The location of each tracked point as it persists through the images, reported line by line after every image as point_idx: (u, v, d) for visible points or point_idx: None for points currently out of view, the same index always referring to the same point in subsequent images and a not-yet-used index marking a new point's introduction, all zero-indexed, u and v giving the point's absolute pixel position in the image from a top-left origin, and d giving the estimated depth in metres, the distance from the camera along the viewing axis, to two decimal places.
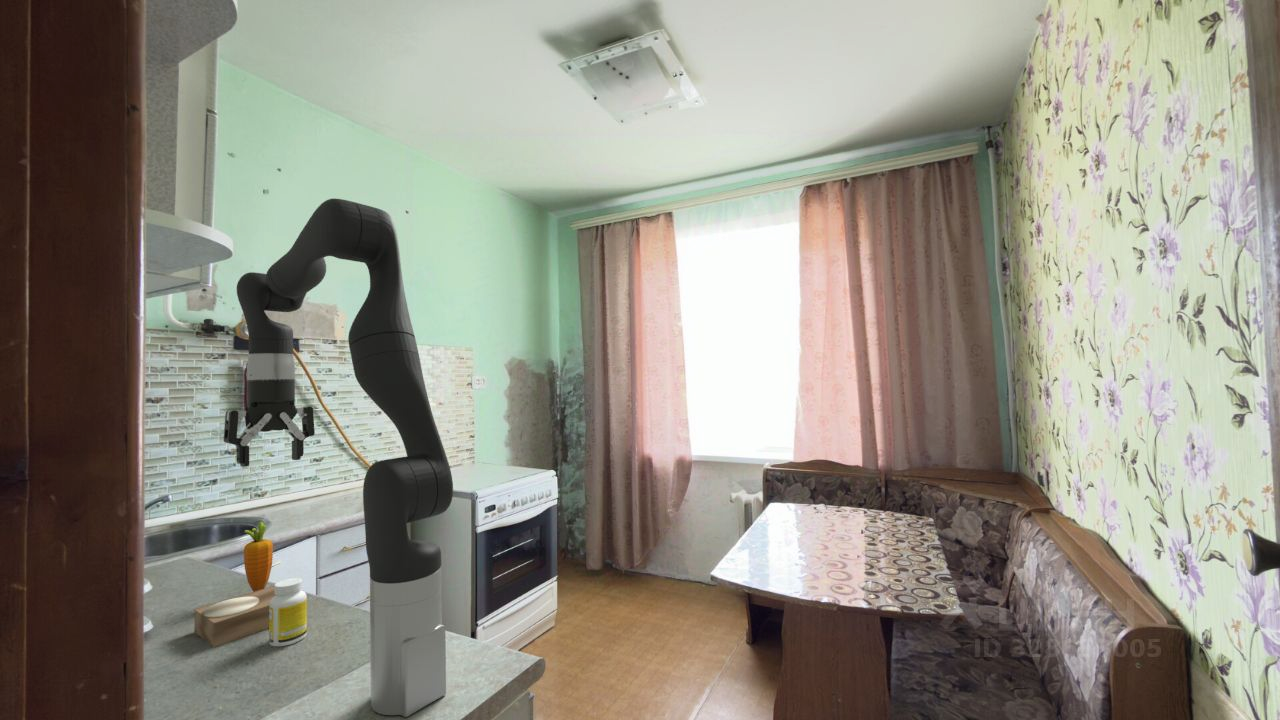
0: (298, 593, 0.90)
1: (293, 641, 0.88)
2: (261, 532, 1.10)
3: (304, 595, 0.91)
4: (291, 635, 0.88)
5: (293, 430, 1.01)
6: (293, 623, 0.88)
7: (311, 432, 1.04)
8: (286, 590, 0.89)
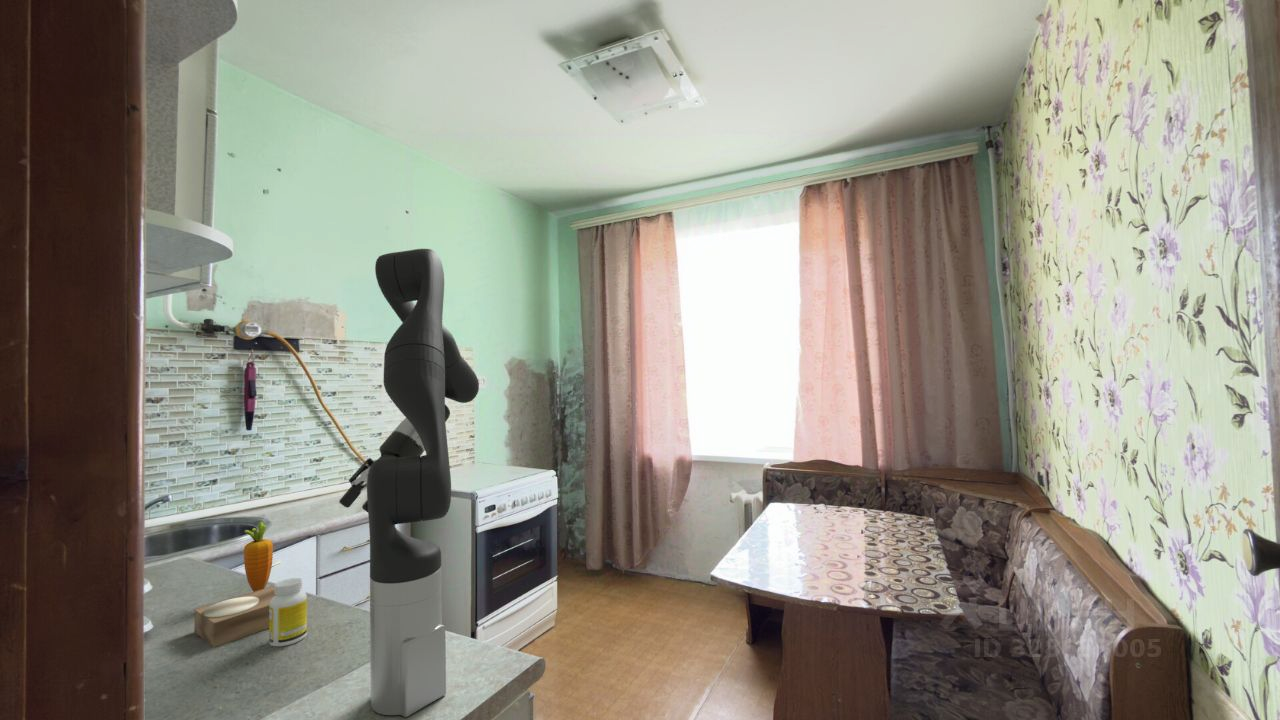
0: (298, 593, 0.90)
1: (293, 641, 0.88)
2: (261, 532, 1.10)
3: (304, 595, 0.91)
4: (291, 635, 0.88)
5: None
6: (293, 623, 0.88)
7: None
8: (286, 590, 0.89)
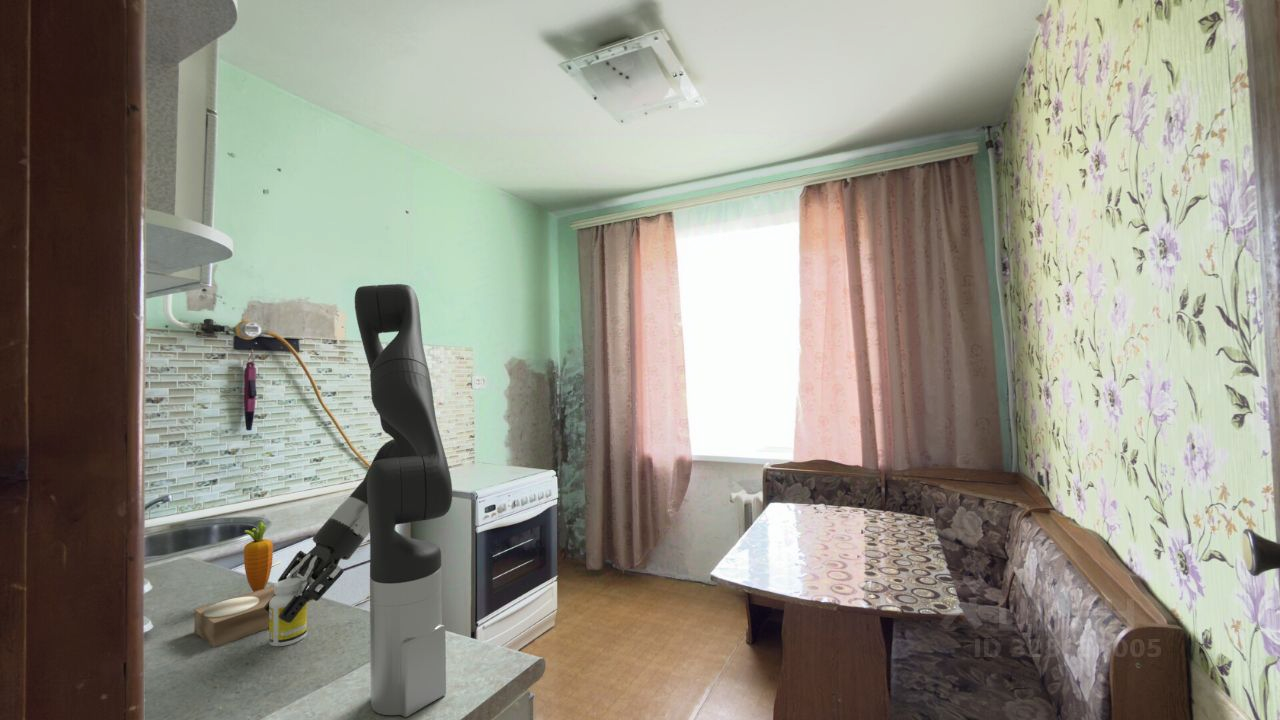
0: None
1: (293, 641, 0.88)
2: (261, 532, 1.10)
3: None
4: (291, 635, 0.88)
5: (303, 579, 0.90)
6: (293, 622, 0.88)
7: (307, 590, 0.88)
8: (286, 590, 0.89)
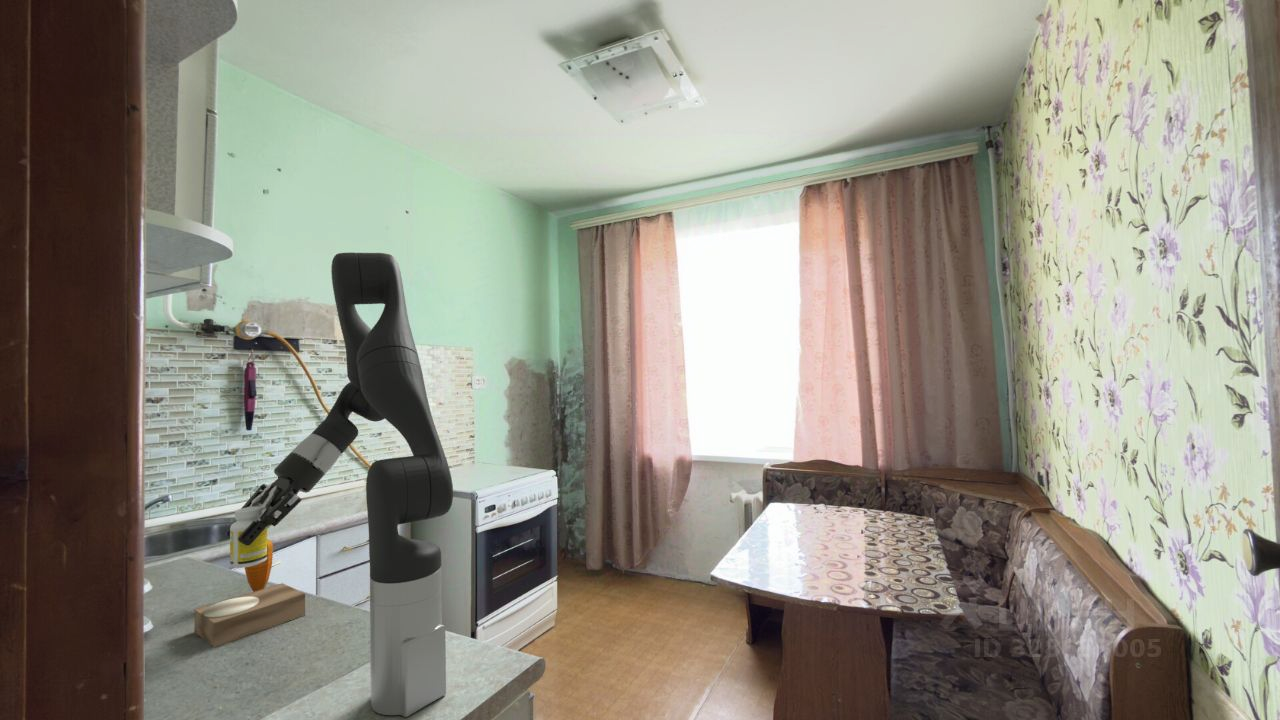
0: None
1: (252, 563, 0.93)
2: None
3: None
4: (250, 557, 0.93)
5: (262, 506, 0.95)
6: (252, 546, 0.93)
7: (264, 515, 0.92)
8: (245, 516, 0.93)
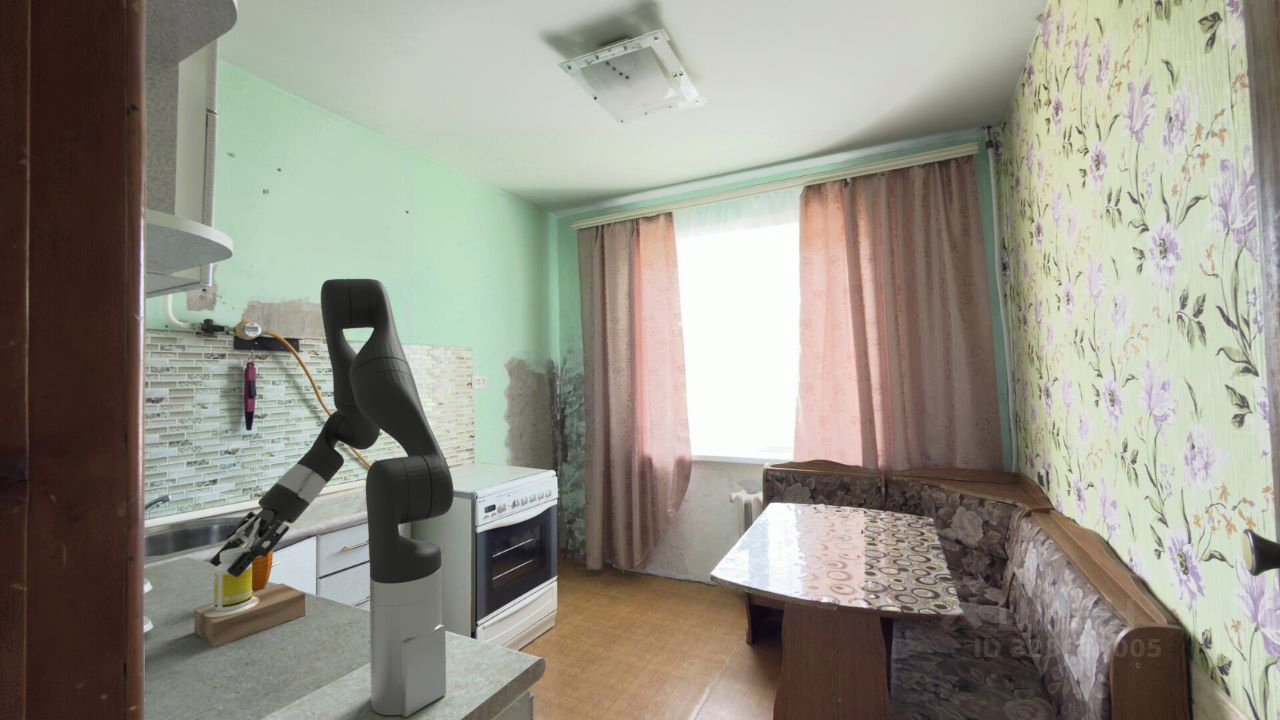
0: None
1: (237, 606, 0.93)
2: None
3: None
4: (234, 600, 0.93)
5: (249, 537, 0.94)
6: (237, 588, 0.93)
7: (254, 546, 0.92)
8: (230, 558, 0.93)
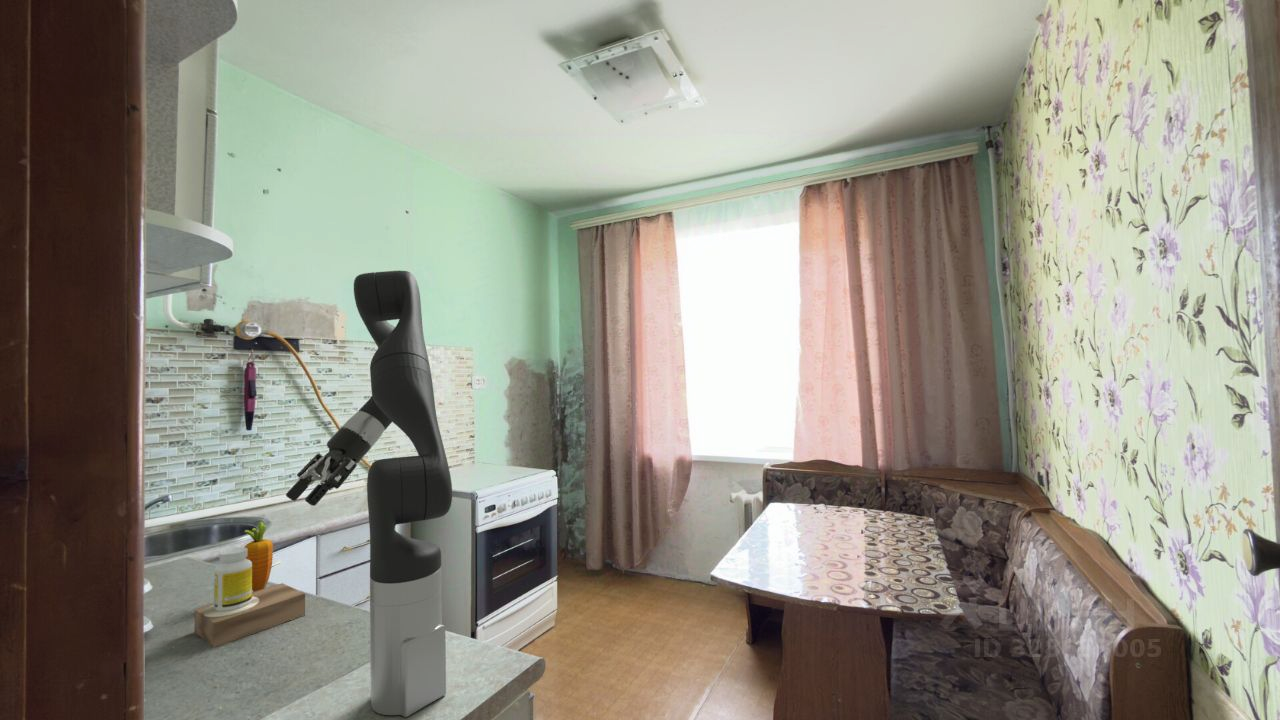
0: (242, 561, 0.95)
1: (237, 606, 0.93)
2: (261, 532, 1.10)
3: (249, 563, 0.95)
4: (234, 600, 0.93)
5: (322, 472, 1.05)
6: (237, 588, 0.93)
7: (329, 478, 1.03)
8: (230, 558, 0.93)
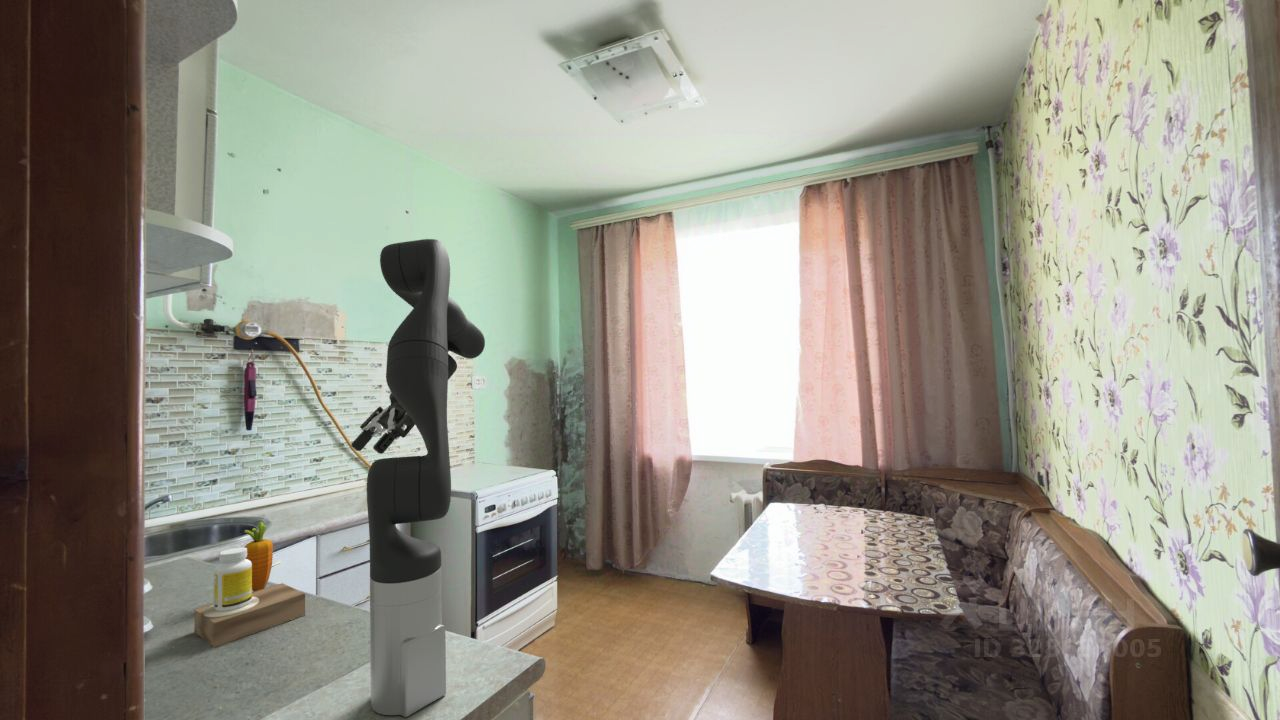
0: (242, 561, 0.95)
1: (237, 606, 0.93)
2: (261, 532, 1.10)
3: (249, 563, 0.95)
4: (234, 600, 0.93)
5: (388, 422, 1.05)
6: (236, 589, 0.93)
7: (396, 426, 1.03)
8: (230, 558, 0.93)
